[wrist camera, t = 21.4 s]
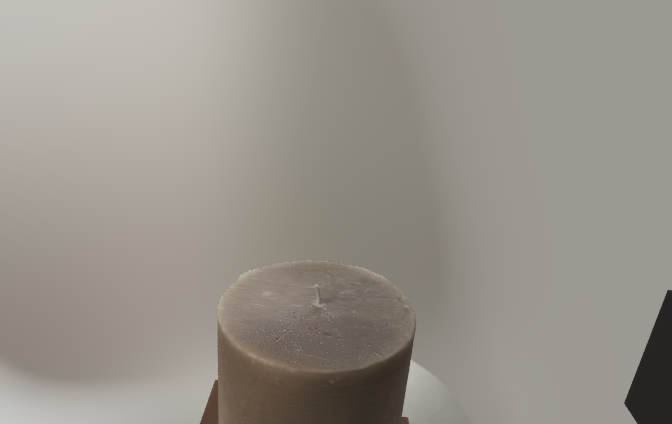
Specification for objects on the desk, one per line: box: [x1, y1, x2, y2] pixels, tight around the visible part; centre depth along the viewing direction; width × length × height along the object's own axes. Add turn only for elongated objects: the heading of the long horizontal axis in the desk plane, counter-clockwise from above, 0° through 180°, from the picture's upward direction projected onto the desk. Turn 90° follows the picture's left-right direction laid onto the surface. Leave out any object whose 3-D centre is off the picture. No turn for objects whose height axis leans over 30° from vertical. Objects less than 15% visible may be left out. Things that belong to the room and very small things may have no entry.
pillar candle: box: [217, 260, 416, 424], centre depth 28 cm, size 10×10×15 cm
